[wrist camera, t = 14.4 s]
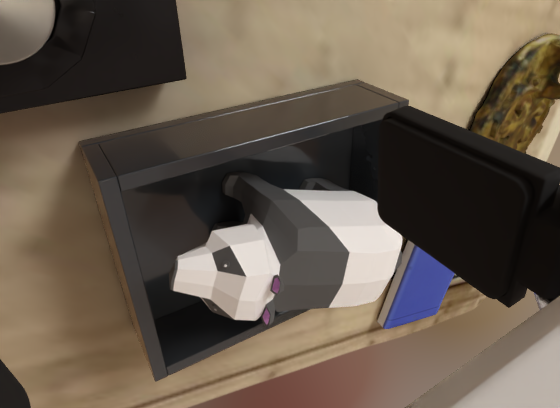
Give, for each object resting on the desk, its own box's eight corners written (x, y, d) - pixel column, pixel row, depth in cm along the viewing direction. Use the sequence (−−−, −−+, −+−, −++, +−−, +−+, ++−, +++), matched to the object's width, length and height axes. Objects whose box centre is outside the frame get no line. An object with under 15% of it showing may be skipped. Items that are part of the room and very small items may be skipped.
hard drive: (428, 223, 39) (385, 330, 44) (483, 215, 43) (438, 314, 48) (415, 214, 40) (375, 320, 45) (470, 208, 44) (428, 305, 50)
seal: (485, 188, 46) (560, 41, 40) (528, 209, 43) (616, 54, 37) (438, 189, 40) (519, 17, 34) (485, 214, 37) (582, 30, 31)
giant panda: (344, 173, 32) (449, 243, 25) (321, 239, 34) (411, 321, 27) (138, 161, 23) (208, 262, 16) (124, 250, 25) (181, 374, 18)
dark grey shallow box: (133, 328, 29) (155, 382, 26) (78, 140, 22) (97, 181, 18) (345, 241, 37) (384, 274, 33) (357, 78, 29) (409, 99, 26)
